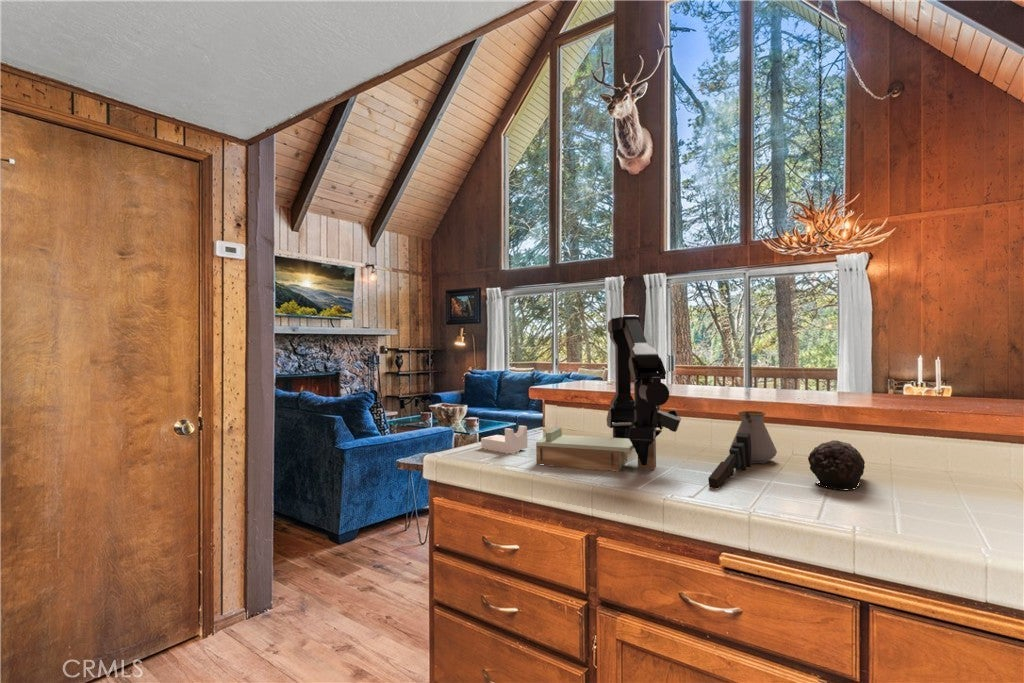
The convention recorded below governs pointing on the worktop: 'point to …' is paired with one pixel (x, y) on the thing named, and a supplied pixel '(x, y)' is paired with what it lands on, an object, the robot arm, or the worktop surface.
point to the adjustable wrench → (733, 461)
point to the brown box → (581, 458)
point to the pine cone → (837, 465)
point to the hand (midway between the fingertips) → (646, 461)
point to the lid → (584, 442)
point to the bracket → (507, 441)
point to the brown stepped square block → (649, 458)
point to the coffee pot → (756, 436)
